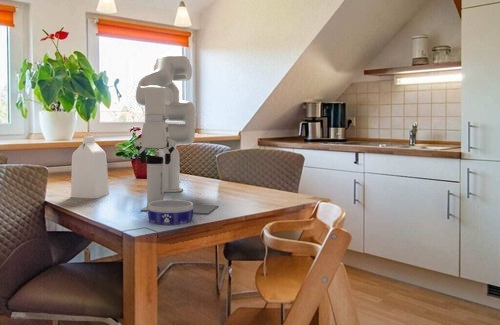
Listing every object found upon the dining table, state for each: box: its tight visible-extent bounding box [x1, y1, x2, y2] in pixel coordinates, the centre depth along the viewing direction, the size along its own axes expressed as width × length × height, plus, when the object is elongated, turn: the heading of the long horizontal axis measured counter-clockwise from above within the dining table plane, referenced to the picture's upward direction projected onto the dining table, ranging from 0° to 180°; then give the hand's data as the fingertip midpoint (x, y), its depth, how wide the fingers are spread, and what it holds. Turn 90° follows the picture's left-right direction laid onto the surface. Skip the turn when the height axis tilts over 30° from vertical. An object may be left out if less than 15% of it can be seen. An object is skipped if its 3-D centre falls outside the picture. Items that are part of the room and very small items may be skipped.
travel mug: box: [146, 154, 165, 207], centre depth 183 cm, size 6×7×20 cm
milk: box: [70, 135, 110, 199], centre depth 208 cm, size 12×12×26 cm
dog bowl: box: [147, 199, 194, 226], centre depth 163 cm, size 15×15×6 cm
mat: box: [140, 203, 219, 215], centre depth 182 cm, size 15×26×1 cm, turn 80°
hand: (155, 163), depth 182 cm, fingers open, 9 cm apart
